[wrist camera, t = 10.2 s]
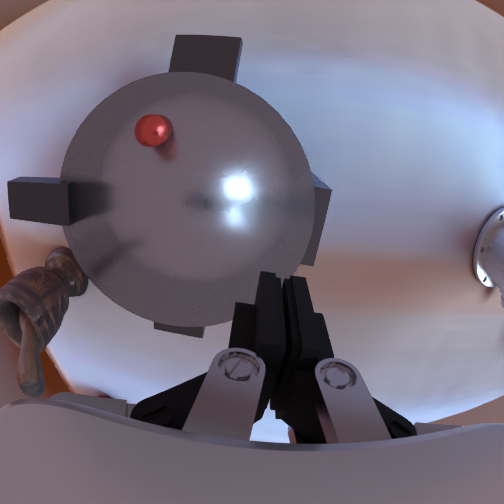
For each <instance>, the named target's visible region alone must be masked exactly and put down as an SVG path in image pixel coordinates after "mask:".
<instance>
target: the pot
mask: <svg viewBox="0 0 504 504" xmlns="http://www.w3.org/2000/svg"><path fill="white" fill-rule="evenodd" d="M242 45H243V43H242V38H239V37H227V36H212V35H176V37H175V42H174V47H173V52H172V57H171V62H170V67H169V72H196V73H204V74H210V75H214V76H217V77H221V78H224V79H228V80H230V81H232V82H234V83H236V78H237V72H238V67H239V61H240V56H241V50H242ZM311 175H312V178H313V185H314V194H315V216H314V223H313V229H312V234H311V237H310V240H309V244H308V247H307V250H306V252H305V254H304V256H303V258H302V260H301V262H300V264H304V265H310V266H313V265H314V261H315V257H316V253H317V250H318V246H319V242H320V238H321V234H322V230H323V226H324V222H325V218H326V213H327V209H328V205H329V201H330V196H331V192H332V190H331V189H330V188H329V187H328V186H327V185H326V184H325V183H323V182H322V181H321V180H320V179H319V178H318V177H317V176H315V175H314V174H313V173H312V172H311ZM154 329H157V330H162V331H167V332H172V333H177V334H182V335H188V336H193V337H199V338H203V334H204V330H205V326H201V327H181V326H173V325H167V324H162V323H158V322H154Z"/></svg>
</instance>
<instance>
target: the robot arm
mask: <svg viewBox="0 0 504 504" xmlns="http://www.w3.org/2000/svg"><path fill="white" fill-rule="evenodd" d="M473 266H474V272H475V275H476V277H477V279H478V280H479V281H480V282H481V283H482V284H483V285H485V286H487V287H494V286H498V287H499V288H500V292H501V294H502V296H501V306H502V307H503V308H504V208H501V209H499V210H498V211H496V212H495V213H494V214H493V215H492V216H491V217H490V218H489V219H488V221H487V222H486V223H485V225H484V227H483V228H482V230H481V232H480V235H479V237H478V240H477V243H476V246H475V251H474V258H473ZM269 399H270V409H271V410H275V417H276V419H282V420H283V421H284V422H285V423H286V424H288V425H289V426H288V436H289V440H290V443H272V442H259V441H249V439H250V435H251V431H252V427H253V424H254V423H255V422H257V421H258V420H260V419H261V418H262V417H263V414H264V411H265V409H266V408H267V405H268V402H269ZM0 504H504V424H499V423H491V424H490V423H485V424H477V425H469V426H464V427H462V426H459V425H446V424H430V423H418V422H416V423H415V424H414V425H413V424H412V423H411V422H410V421H408V420H407V419H406V418H404V417H403V416H401V415H400V414H398V413H396V412H395V411H393V410H392V409H390V408H389V407H387V406H385V405H384V404H382V403H381V402H379V401H378V400H376V399H375V398H373V397H372V396H371V394H370V392H369V390H368V388H367V386H366V384H365V382H364V380H363V378H362V376H361V374H360V372H359V371H358V370H357V368H356V367H355V366H353V365H352V364H351V363H349V362H347V361H345V360H342V359H339V358H334V354H333V350H332V346H331V343H330V339H329V335H328V331H327V328H326V324H325V320H324V317H323V314H321V313H314V310H313V306H312V302H311V298H310V294H309V290H308V286H307V282H306V278H305V277H298V276H292V275H291V276H290V278H289V279H286V278H285V279H284V281H283V285H282V287H281V278H279V277H276V273H272V272H265V271H261V272H260V276H259V281H258V287H257V292H256V297H255V302H254V304H248V303H241V302H235V309H234V315H233V321H232V328H231V334H230V341H229V347H228V349H225V350H222V351H221V352H219V353H218V354H217V355H216V356H215V357H214V359H213V361H212V363H211V365H210V368H209V370H208V372H206V373H204V374H202V375H200V376H198V377H195V378H193V379H191V380H189V381H186V382H184V383H182V384H180V385H177V386H175V387H173V388H170V389H168V390H166V391H163V392H161V393H158V394H156V395H154V396H151V397H149V398H146V399H144V400H142V401H140V402H139V403H137V404H128V403H127V400H121V399H111V398H103V397H95V396H88V395H81V394H75V393H69V392H61V393H58V394H55V395H53V396H52V397H51V398H50V399H40V398H26V399H18V400H15V401H12V402H10V403H8V404H6V405H4V406H3V407H2V408H1V409H0Z"/></svg>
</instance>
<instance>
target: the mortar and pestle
mask: <svg viewBox="0 0 504 504" xmlns="http://www.w3.org/2000/svg"><path fill="white" fill-rule="evenodd" d="M87 285H88V277H87V275H86V274H85V273H84V271H83V270H82V268H81V267H80V265H79V264H78V262H77V261H76V259H75V257H74V255H73V253H72V251H71V250H69V249H67V248H58V249H55V250H53V251H52V252H51V253H50V255H49V256H48V258H47V260H46V262H45V267H35V268H31V269H28V270H25V271H23V272H21V273H19V274H18V275H16V276H15V277H14V278H13V279H11V280H10V281H9V282H8V283H7V284H5V285H4V286H3V287H2V288H1V289H0V328H1V329H2V330H3V331H4V333H5V334H6V336H7V337H8V338H9V339H10V340H11V341H12V342H13V343H14V344H15V345H17V346H18V347H20V348H21V350H20V355H19V362H18V373H17V378H18V384H19V386H20V388H21V390H22V391H23V393H24V394H25V395H27V396H29V397H38V396H41V394H42V393H43V391H44V375H43V369H42V364H41V360H40V352H42V351H43V350H45V347H46V346H47V344H49V342H50V341H51V339H52V338H53V337H54V336H55V334H56V333H57V331H58V329H59V328H60V326H61V322H62V320H63V317H64V314H65V313H66V311H67V309H68V305H69V297H74V296H80V295H82V294H83V293H84V292H85V291H86V289H87Z"/></svg>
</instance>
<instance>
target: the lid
mask: <svg viewBox="0 0 504 504" xmlns="http://www.w3.org/2000/svg"><path fill="white" fill-rule="evenodd" d="M7 185H8V200H9V211H10V218H11V219H19V220H26V221H33V222H41V223H48V224H55V225H62V226H63V230H64V233H65V236H66V239H67V242H68V244H69V247H70V249H71V251H72V253H73V255H74V257H75V259H76V261H77V262H78V264H79V265H80V267H81V268H82V270H83V271H84V273H85V274H86V275H87V277H88V278H89V279H90V280H91V281H92V283H93V284H94V285H95V286H96V287H97V288H98V289H99V290H100V291H101V292H102V293H103V294H105V295H106V296H107V297H108V298H110V299H111V300H112V301H114V302H115V303H116V304H118V305H120V306H121V307H123V308H124V309H126V310H128V311H130V312H132V313H134V314H136V315H138V316H140V317H143V318H145V319H148V320H151V321H154V322H158V323H162V324H167V325H173V326H181V327H201V326H210V325H216V324H220V323H225V322H228V321H231V320H233V315H234V309H235V302H241V303H248V304H254V302H255V297H256V292H257V287H258V281H259V276H260V272H261V271H265V272H272V273H276V277H279V278H281V287H282V285H283V281H284V279H285V278H286V279H289V278H290V276H291V275H293V274H294V272H295V271H296V269H297V268H298V266H299V265H300V262H301V260H302V258H303V256H304V254H305V252H306V250H307V247H308V244H309V240H310V237H311V234H312V229H313V223H314V216H315V194H314V185H313V178H312V175H311V171H310V167H309V163H308V160H307V158H306V156H305V153H304V151H303V149H302V146H301V144H300V142H299V141H298V139H297V137H296V136H295V134H294V132H293V131H292V129H291V128H290V126H289V125H288V124H287V123H286V121H285V120H284V119H283V118H282V117H281V116H280V114H279V113H278V112H277V111H276V110H275V109H274V108H273V107H271V106H270V105H269V104H268V103H267V102H266V101H265V100H263V99H262V98H261V97H259V96H258V95H256V94H255V93H253V92H252V91H250V90H249V89H247V88H245V87H243V86H241V85H239V84H237V83H234V82H232V81H230V80H228V79H224V78H221V77H217V76H214V75H210V74H204V73H196V72H169V73H163V74H157V75H152V76H149V77H146V78H143V79H140V80H137V81H134V82H132V83H130V84H128V85H126V86H124V87H122V88H120V89H118V90H117V91H116V92H114V93H113V94H111V95H110V96H108V97H107V98H106V99H104V100H103V101H102V102H101V103H100V104H99V105H98V106H97V107H96V108H95V109H94V110H93V111H92V112H91V113H90V114H89V115H88V116H87V118H86V119H85V120H84V121H83V123H82V124H81V125H80V127H79V129H78V130H77V132H76V134H75V135H74V137H73V139H72V141H71V143H70V146H69V148H68V150H67V153H66V155H65V159H64V162H63V166H62V170H61V176H60V178H46V177H18V178H16V179H13V180H10V181H8V182H7Z"/></svg>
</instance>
